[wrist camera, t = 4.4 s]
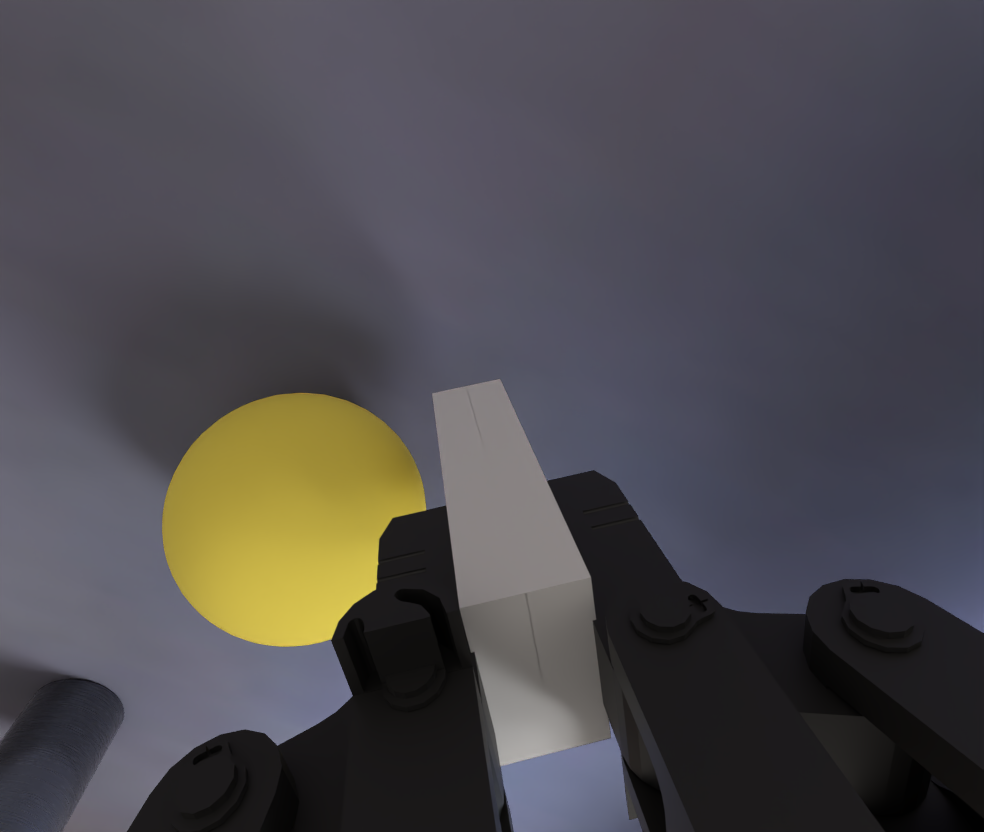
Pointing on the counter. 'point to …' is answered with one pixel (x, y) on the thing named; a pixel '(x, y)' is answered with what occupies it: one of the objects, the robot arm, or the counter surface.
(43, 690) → the post
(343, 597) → the ball
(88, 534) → the counter surface
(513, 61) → the counter surface
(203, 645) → the counter surface
